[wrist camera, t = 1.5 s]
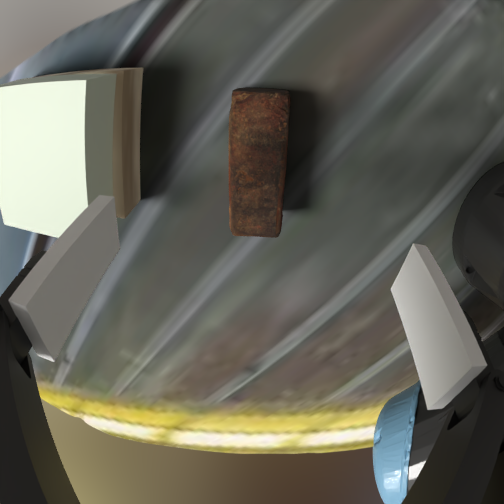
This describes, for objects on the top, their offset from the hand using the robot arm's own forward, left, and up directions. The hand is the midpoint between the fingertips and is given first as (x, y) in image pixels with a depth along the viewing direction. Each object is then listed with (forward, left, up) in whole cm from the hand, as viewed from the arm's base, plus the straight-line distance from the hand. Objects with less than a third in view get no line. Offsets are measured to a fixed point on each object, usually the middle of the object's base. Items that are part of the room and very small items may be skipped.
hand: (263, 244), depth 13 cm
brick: (+1, 0, -14) cm, 14 cm away
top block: (+17, 0, -10) cm, 19 cm away
